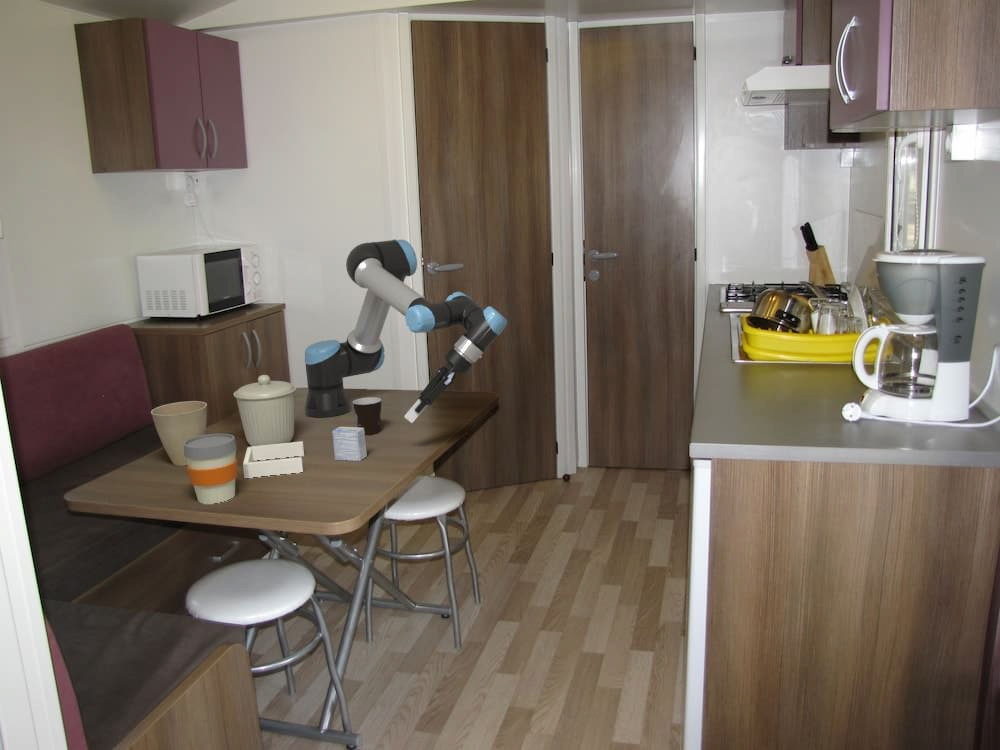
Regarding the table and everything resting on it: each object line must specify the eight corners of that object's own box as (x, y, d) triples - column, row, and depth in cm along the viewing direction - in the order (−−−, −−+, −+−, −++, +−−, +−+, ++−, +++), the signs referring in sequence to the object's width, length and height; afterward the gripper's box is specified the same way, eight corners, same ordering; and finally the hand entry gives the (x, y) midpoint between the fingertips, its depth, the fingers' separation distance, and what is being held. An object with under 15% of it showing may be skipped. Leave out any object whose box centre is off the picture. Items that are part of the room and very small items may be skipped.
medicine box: (367, 457, 254) (364, 427, 253) (359, 462, 250) (357, 431, 248) (342, 455, 257) (339, 426, 255) (334, 460, 253) (331, 430, 251)
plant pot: (194, 450, 268) (187, 398, 265) (224, 459, 259) (217, 405, 256) (148, 464, 257) (140, 410, 254) (177, 473, 248) (169, 417, 244)
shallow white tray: (249, 460, 257) (247, 446, 256) (304, 454, 259) (302, 441, 258) (244, 478, 241) (242, 464, 240) (302, 472, 244) (301, 458, 243)
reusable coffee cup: (179, 504, 224) (171, 446, 221) (212, 487, 236) (205, 431, 232) (221, 509, 220) (213, 449, 216) (252, 491, 231) (246, 434, 228)
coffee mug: (378, 436, 273) (375, 404, 271) (351, 436, 275) (348, 404, 273) (390, 425, 285) (388, 394, 282) (364, 425, 286) (361, 394, 284)
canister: (313, 441, 272) (307, 372, 267) (261, 456, 259) (253, 385, 255) (279, 431, 284) (272, 365, 280) (228, 446, 272) (219, 377, 267)
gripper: (477, 368, 248) (420, 434, 248) (469, 359, 260) (415, 421, 261) (456, 351, 245) (399, 417, 246) (449, 343, 258) (395, 405, 259)
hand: (408, 419), depth 253 cm, fingers closed
